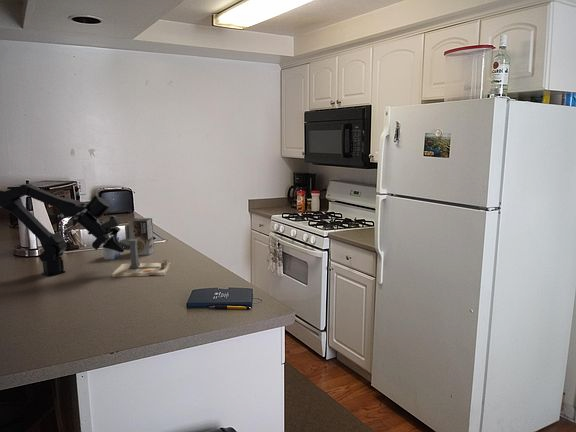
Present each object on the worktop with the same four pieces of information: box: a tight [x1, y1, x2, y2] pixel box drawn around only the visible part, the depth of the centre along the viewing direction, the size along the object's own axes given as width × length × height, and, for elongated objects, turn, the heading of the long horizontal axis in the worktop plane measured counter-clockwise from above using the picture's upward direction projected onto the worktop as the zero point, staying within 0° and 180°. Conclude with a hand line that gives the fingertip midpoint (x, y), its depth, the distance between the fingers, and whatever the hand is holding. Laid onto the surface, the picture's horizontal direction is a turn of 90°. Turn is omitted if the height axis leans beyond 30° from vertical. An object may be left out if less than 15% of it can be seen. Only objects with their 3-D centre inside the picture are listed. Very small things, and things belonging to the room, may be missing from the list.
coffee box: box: [127, 217, 155, 256], centre depth 212 cm, size 9×6×16 cm
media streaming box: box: [119, 237, 155, 250], centre depth 229 cm, size 15×15×3 cm
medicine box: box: [102, 236, 121, 261], centre depth 205 cm, size 8×4×9 cm, turn 179°
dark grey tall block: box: [129, 239, 141, 268], centre depth 183 cm, size 3×4×11 cm
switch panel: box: [111, 259, 172, 278], centre depth 184 cm, size 20×14×4 cm
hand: (123, 251), depth 183 cm, fingers closed
